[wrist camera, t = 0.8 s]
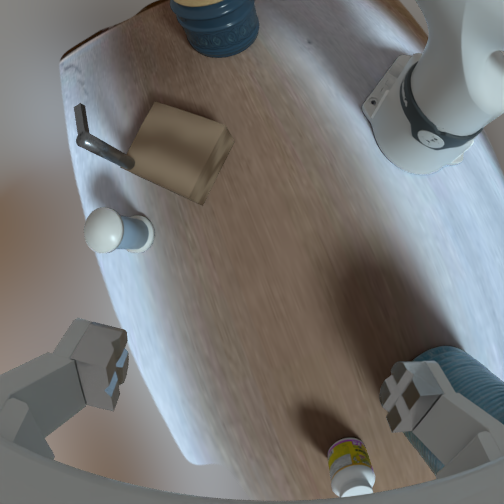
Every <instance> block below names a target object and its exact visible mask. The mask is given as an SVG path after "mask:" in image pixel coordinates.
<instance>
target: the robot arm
mask: <svg viewBox="0 0 504 504" xmlns="http://www.w3.org/2000/svg"><path fill="white" fill-rule="evenodd" d="M415 1H416V3H417V4H418V5H419V7H420V9H421V11H422V13H423V15H424V17H425V20H426V23H427V26H428V31H429V37H428V42H427V44H426V47H425V50H424V52H423V54H420V53H416V54H413V55H412V56H408V55H400V56H399V57H398V58H397V59H396V60H395V62H394V63H393V64H392V66H391V67H390V68H389V70H388V71H387V72H386V74H385V75H384V76H383V78H382V79H381V80H380V82H379V83H378V85H377V86H376V87H375V89H374V90H373V91H372V93H371V94H370V95H369V97H368V98H367V99H366V101H365V102H364V103H363V105H362V111H363V113H364V114H365V116H366V117H367V119H368V120H369V121H370V123H371V125H372V128H373V132H374V136H375V139H376V141H377V143H378V145H379V147H380V149H381V150H382V152H383V153H384V155H385V156H386V157H387V158H388V159H389V160H390V161H391V162H392V163H393V164H395V165H396V166H397V167H399V168H401V169H402V170H404V171H407V172H409V173H413V174H418V175H427V174H432V173H434V172H437V171H438V170H440V169H441V168H443V167H445V166H448V165H458V164H459V163H461V162H462V160H463V154H464V152H465V151H466V150H468V149H469V148H470V147H471V146H472V145H473V143H474V141H473V139H474V138H475V137H477V135H478V134H479V133H480V132H481V131H482V129H483V128H484V126H486V125H487V124H489V123H490V122H491V121H493V120H494V119H496V118H497V117H498V116H500V115H501V114H503V113H504V55H503V54H502V52H501V51H503V52H504V0H415ZM371 102H374V103H375V105H373V104H372V103H371ZM126 343H127V332H126V331H125V330H124V329H120V328H116V327H112V326H108V325H104V324H100V323H96V322H90V321H87V320H84V319H80V318H77V319H75V320H74V321H73V322H72V324H71V325H70V327H69V329H68V330H67V331H66V333H65V335H64V336H63V338H62V339H61V341H60V342H59V344H58V345H57V347H56V349H55V350H54V352H53V353H49V352H48V353H46V354H43V355H41V356H39V357H37V358H35V359H33V360H31V361H29V362H27V363H25V364H22V365H20V366H18V367H16V368H14V369H12V370H10V371H8V372H6V373H4V374H2V375H0V504H504V425H503V424H502V423H501V422H499V421H498V420H496V419H495V418H494V417H492V416H491V415H489V414H488V413H487V412H485V411H484V410H482V409H481V408H480V407H478V406H477V405H475V404H474V403H473V402H471V401H470V400H468V399H467V398H465V397H464V396H463V395H461V394H460V393H456V392H455V391H454V389H453V387H452V386H451V384H450V382H449V381H448V379H447V377H446V376H445V374H444V372H443V371H442V369H441V368H440V366H439V364H438V363H437V362H435V361H398V362H397V363H396V364H394V366H393V367H392V369H391V374H392V375H391V376H390V377H388V378H387V379H385V381H384V382H383V384H382V386H381V389H380V394H379V396H380V402H381V405H382V407H383V408H384V409H385V410H387V411H388V414H387V416H386V418H387V421H388V423H389V426H390V429H391V431H392V433H394V432H406V431H413V433H414V434H415V435H416V436H417V437H418V438H419V439H420V440H421V442H422V443H423V444H424V445H425V446H426V447H427V448H428V449H429V450H430V451H431V452H432V453H433V454H434V455H435V456H436V457H437V458H438V459H439V460H440V461H441V462H442V463H443V464H444V465H445V466H444V467H443V468H442V469H441V470H440V471H439V472H438V473H437V475H436V478H437V479H436V480H432V481H428V482H424V483H420V484H416V485H412V486H408V487H403V488H398V489H393V490H388V491H383V492H377V493H371V494H364V495H357V496H349V497H340V498H330V499H317V500H297V501H254V500H233V499H221V498H210V497H201V496H194V495H186V494H180V493H173V492H167V491H162V490H157V489H151V488H146V487H142V486H138V485H133V484H129V483H125V482H121V481H117V480H113V479H109V478H106V477H103V476H99V475H96V474H93V473H90V472H86V471H83V470H80V469H77V468H74V467H71V466H69V465H66V464H63V463H60V462H58V461H55V460H54V457H55V456H54V454H53V452H52V450H51V448H50V447H49V445H48V443H47V442H46V440H45V437H46V436H48V435H49V434H50V433H52V432H53V431H54V430H56V429H57V428H58V427H60V426H61V425H62V424H63V423H65V422H66V421H68V420H69V419H70V418H71V417H73V416H74V415H75V414H76V413H78V412H79V411H80V410H82V409H83V408H84V407H86V405H90V406H94V407H97V408H102V409H106V410H110V411H114V409H115V406H116V404H117V401H118V398H119V395H120V391H119V385H121V384H123V383H124V381H125V378H126V375H127V369H128V360H129V358H128V351H127V350H126V349H125V346H126Z"/></svg>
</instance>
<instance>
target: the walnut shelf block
mask: <svg viewBox="0 0 504 504" xmlns="http://www.w3.org/2000/svg"><path fill="white" fill-rule="evenodd" d="M233 144H234V140H233V138H232V136H231V134H230V133H229V131H228V129H227V127H226V125H223V124H221V123H218V122H215V121H212V120H210V119H207V118H204V117H201V116H198V115H195V114H192V113H189V112H186V111H184V110H180V109H177V108H174V107H171V106H168V105H165V104H162V103H159V102H154V104H153V106H152V108H151V109H150V111H149V113H148V115H147V116H146V118H145V120H144V122H143V124H142V125H141V127H140V129H139V131H138V133H137V135H136V137H135V139H134V141H133V143H132V144H131V146H130V148H129V150H128V152H127V154H126V155H128V156H130V157H131V158H133V159H134V160H135V166H134V167H133V168H132V169H131V170H127V169H125V168H123V167H121V168H123V169H125V170H127V171H129V172H131V173H133V174H135V175H137V176H139V177H141V178H143V179H146V180H148V181H150V182H152V183H154V184H157V185H159V186H161V187H163V188H165V189H168V190H170V191H172V192H174V193H176V194H178V195H181V196H183V197H185V198H187V199H189V200H191V201H194V202H196V203H198V204H200V205H202V206H203V205H204V202H205V200H206V198H207V196H208V194H209V192H210V190H211V188H212V186H213V184H214V182H215V180H216V178H217V176H218V174H219V172H220V170H221V168H222V166H223V164H224V162H225V160H226V158H227V156H228V154H229V152H230V150H231V148H232V146H233Z"/></svg>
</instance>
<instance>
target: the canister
mask: <svg viewBox="0 0 504 504" xmlns="http://www.w3.org/2000/svg"><path fill="white" fill-rule="evenodd" d="M254 3H255V0H170V7H171V9H172V11H173V12H174V13H175V14H176V16H177V20H178V22H179V23H180V25H181V26H182V27H183V29H184V31H185V33H186V35H187V39H188V41H189V43H190V44H191V46H192V47H193V48H194V49H195V50H196V51H198V52H199V53H200V54H202V55H205V56H208V57H214V58H222V57H228V56H232V55H235V54H238V53H240V52H242V51H244V50H245V49H247V48H248V47H249V46H250V45H251V44H252V43H253V42H254V41H255V39H256V38H257V35H258V30H259V20H258V17H257V14H256V10H255V4H254Z"/></svg>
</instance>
